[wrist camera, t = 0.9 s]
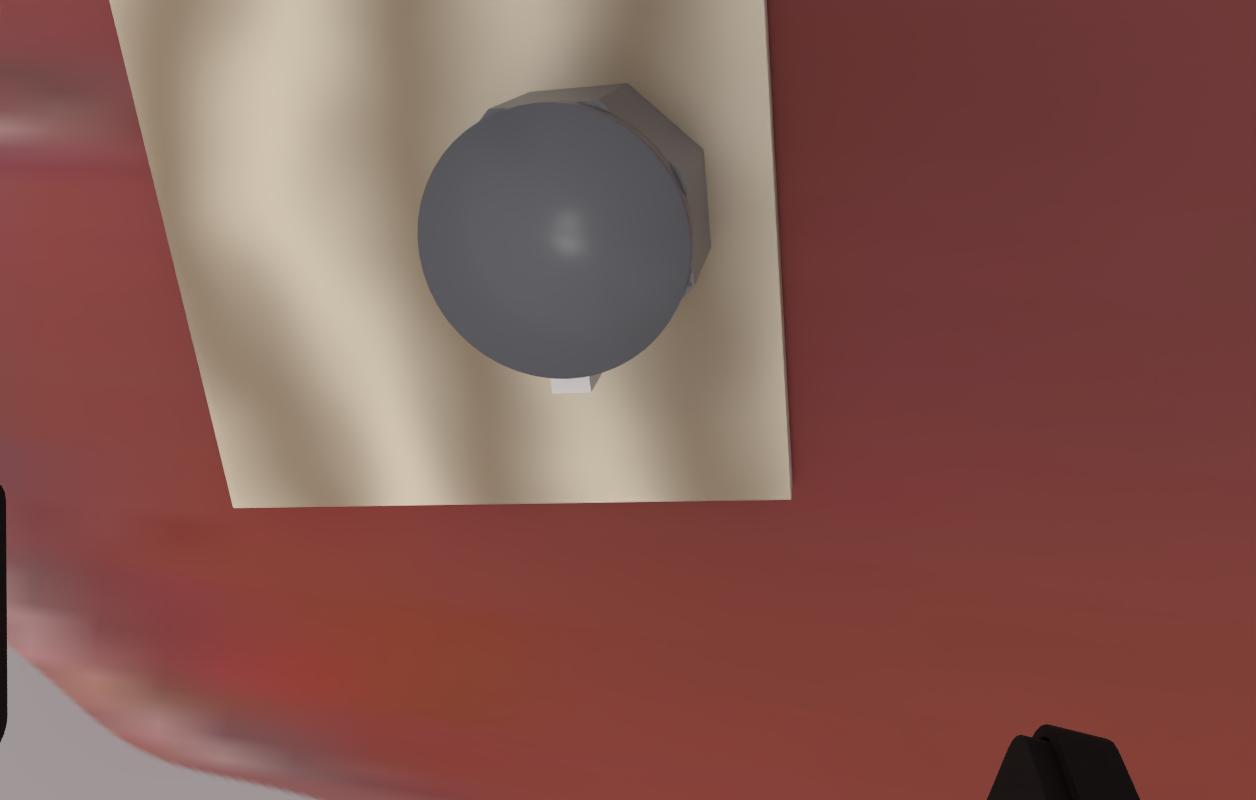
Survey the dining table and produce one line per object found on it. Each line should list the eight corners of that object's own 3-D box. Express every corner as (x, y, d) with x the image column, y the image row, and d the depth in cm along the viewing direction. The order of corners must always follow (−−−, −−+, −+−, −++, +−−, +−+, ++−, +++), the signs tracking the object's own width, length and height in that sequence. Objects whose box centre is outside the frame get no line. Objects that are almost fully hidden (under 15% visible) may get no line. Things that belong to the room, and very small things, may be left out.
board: (736, -571, 25) (707, -722, 20) (792, 482, 34) (784, 582, 29) (32, -430, 29) (-159, -524, 23) (251, 492, 38) (150, 582, 32)
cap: (701, 72, 29) (677, 91, 25) (720, 331, 31) (702, 391, 27) (460, 94, 30) (396, 116, 26) (496, 341, 33) (443, 400, 28)
